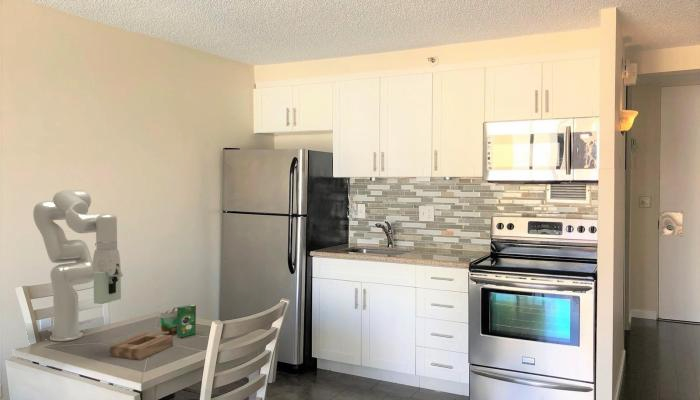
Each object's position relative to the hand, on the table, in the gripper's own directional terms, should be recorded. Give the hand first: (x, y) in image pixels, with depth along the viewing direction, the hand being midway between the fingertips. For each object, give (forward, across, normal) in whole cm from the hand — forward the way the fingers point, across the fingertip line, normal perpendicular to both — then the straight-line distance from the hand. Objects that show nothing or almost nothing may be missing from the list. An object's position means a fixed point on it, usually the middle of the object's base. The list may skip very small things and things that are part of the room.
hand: (107, 292), depth 222 cm
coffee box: (+24, +14, +31) cm, 41 cm away
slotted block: (+24, +11, +7) cm, 27 cm away
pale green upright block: (+3, 0, 0) cm, 3 cm away
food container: (+24, +6, +32) cm, 41 cm away
